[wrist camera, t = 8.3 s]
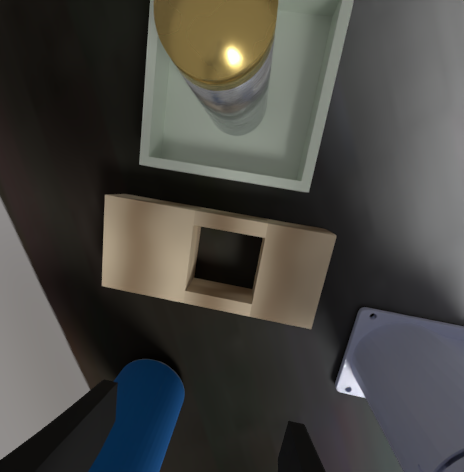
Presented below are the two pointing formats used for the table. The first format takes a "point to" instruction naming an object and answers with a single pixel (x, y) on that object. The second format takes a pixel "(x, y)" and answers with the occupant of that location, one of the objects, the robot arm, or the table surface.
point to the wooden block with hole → (185, 255)
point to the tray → (277, 112)
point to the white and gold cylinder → (222, 55)
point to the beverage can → (142, 418)
